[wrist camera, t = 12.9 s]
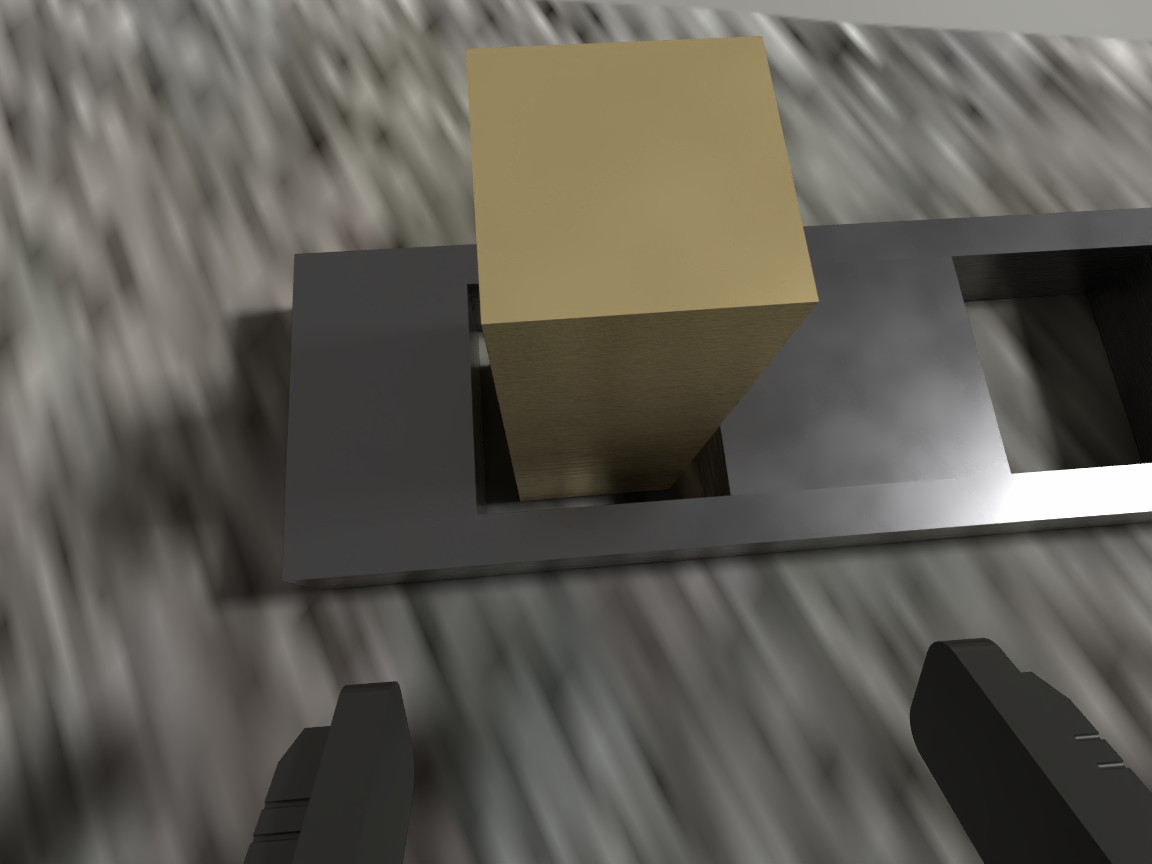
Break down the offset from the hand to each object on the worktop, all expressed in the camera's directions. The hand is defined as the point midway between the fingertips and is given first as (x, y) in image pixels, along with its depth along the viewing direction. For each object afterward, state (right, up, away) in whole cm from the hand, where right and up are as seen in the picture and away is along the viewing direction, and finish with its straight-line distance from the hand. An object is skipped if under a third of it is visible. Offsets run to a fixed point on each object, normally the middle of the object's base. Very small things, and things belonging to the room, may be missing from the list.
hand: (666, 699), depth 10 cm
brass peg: (-1, +4, +11) cm, 12 cm away
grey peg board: (+6, +5, +11) cm, 14 cm away
